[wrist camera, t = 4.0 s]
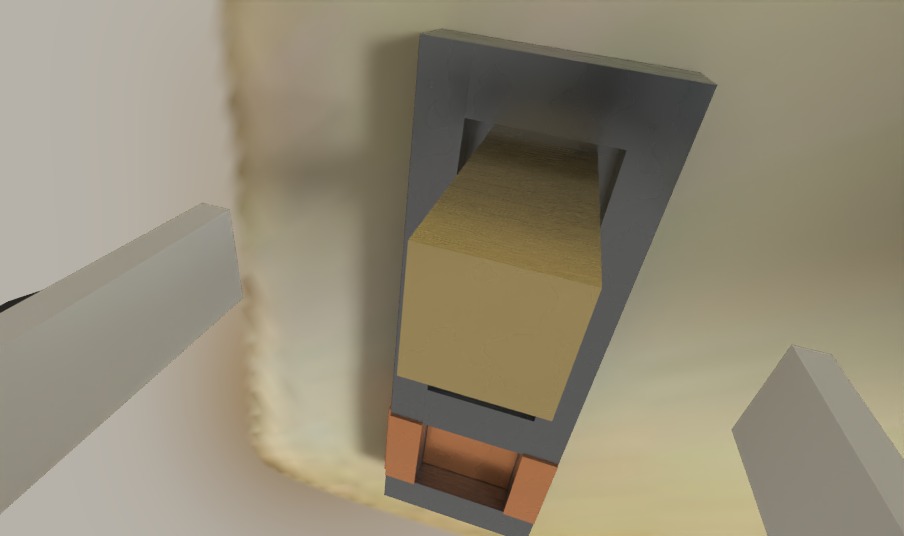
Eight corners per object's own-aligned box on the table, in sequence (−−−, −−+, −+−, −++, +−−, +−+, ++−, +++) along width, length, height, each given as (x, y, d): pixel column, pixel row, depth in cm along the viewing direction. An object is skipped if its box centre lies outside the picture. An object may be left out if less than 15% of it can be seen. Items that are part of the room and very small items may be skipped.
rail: (436, 28, 17) (412, 32, 14) (699, 72, 15) (717, 85, 13) (395, 459, 31) (380, 495, 28) (530, 503, 29) (525, 544, 27)
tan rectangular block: (489, 131, 17) (408, 240, 9) (597, 153, 16) (602, 288, 9) (473, 226, 19) (396, 375, 12) (568, 248, 18) (551, 421, 11)
